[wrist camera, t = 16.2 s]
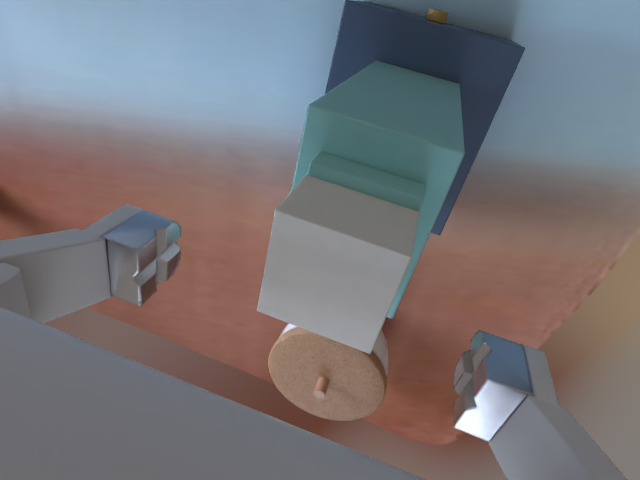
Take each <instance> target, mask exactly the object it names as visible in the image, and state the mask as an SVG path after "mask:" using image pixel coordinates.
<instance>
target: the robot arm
mask: <svg viewBox="0 0 640 480" xmlns="http://www.w3.org/2000/svg"><path fill="white" fill-rule="evenodd" d="M180 237H181V226H180V225H179V224H178V223H177V222H175V221H172V220H169V219H167V218H164V217H161V216H159V215H156V214H154V213H151V212H148V211H144V210H143V209H140V208H137V207H134V206H132V205H123V206H122V207H120V208H118V209H117V210H115V211H113V212H112V213H110V214H108V215H107V216H105V217H103V218H102V219H100V220H98V221H97V222H95V223H93V224H92V225H90V226H88V227H87V228H85V229H83V230H79V229H71V230H64V231H58V232H52V233H46V234H40V235H33V236H27V237H21V238H15V239H9V240H2V241H0V480H426V479H424V478H421V477H419V476H416V475H414V474H411V473H409V472H407V471H404V470H402V469H399V468H397V467H394V466H392V465H389V464H387V463H384V462H382V461H379V460H377V459H375V458H372V457H370V456H367V455H364V454H362V453H360V452H357V451H355V450H352V449H350V448H347V447H345V446H343V445H340V444H338V443H335V442H333V441H330V440H328V439H325V438H323V437H320V436H318V435H316V434H313V433H310V432H308V431H306V430H303V429H301V428H298V427H296V426H293V425H291V424H288V423H286V422H283V421H281V420H279V419H276V418H274V417H271V416H269V415H266V414H264V413H261V412H259V411H256V410H254V409H252V408H249V407H247V406H244V405H242V404H239V403H237V402H234V401H232V400H229V399H226V398H224V397H222V396H220V395H217V394H214V393H212V392H210V391H207V390H205V389H202V388H200V387H197V386H195V385H192V384H190V383H188V382H185V381H182V380H180V379H178V378H175V377H173V376H170V375H168V374H165V373H163V372H160V371H158V370H156V369H153V368H150V367H148V366H146V365H143V364H141V363H138V362H136V361H133V360H131V359H128V358H126V357H123V356H121V355H119V354H116V353H114V352H111V351H109V350H106V349H104V348H101V347H99V346H96V345H94V344H91V343H89V342H87V341H84V340H82V339H79V338H77V337H74V336H72V335H69V334H67V333H64V332H62V331H59V330H57V329H55V328H52V327H50V326H47V325H45V324H44V323H46V322H49V321H51V320H54V319H57V318H59V317H62V316H64V315H67V314H69V313H72V312H74V311H77V310H80V309H82V308H85V307H87V306H90V305H93V304H95V303H98V302H100V301H103V300H106V299H108V298H111V296H114V297H116V298H119V299H122V300H125V301H128V302H130V303H133V304H136V305H139V306H141V305H142V304H143V303H144V302H145V301H147V300H148V299H149V298H150V297H151V296H152V295H153V294H154V293H155V292H156V291H157V284H158V283H161V282H165V281H167V280H168V279H169V278H170V277H171V276H172V275H173V274H174V272H175V270H176V268H177V267H178V264H179V260H180V252H181V250H180V248H179V246H178V245H177V243H176V241H177V240H178V239H179V238H180ZM453 389H454V390H455V392H456V393H457V395H458V397H457V399H456V400H455V402H454V428H457V429H459V430H462V431H464V432H466V433H469V434H471V435H474V436H476V437H478V438H481V439H483V440H486V441H488V442H489V445H490V447H491V449H492V451H493V453H494V455H495V457H496V459H497V461H498V463H499V465H500V467H501V468H502V470H503V472H504V474H505V476H506V478H507V480H627V479H626V477H625V476H624V475H623V474H622V473H621V472H620V471H619V469H618V468H617V467H616V466H615V465H614V463H613V462H612V461H611V460H610V459H609V458H608V457H607V455H606V454H605V453H604V452H603V451H602V450H601V448H600V447H599V446H598V445H597V444H596V443H595V441H594V440H593V439H592V438H591V437H590V436H589V435H588V434H587V432H586V431H585V430H584V429H583V428H582V426H580V424H579V423H578V422H577V421H576V420H575V418H574V417H573V416H572V415H571V414H570V413H569V412H568V410H567V409H565V408H562V407H560V406H559V402H558V398H557V395H556V391H555V388H554V384H553V381H552V377H551V373H550V370H549V366H548V362H547V359H546V355H545V354H544V352H543V351H541V350H539V349H536V348H533V347H530V346H526V345H523V344H518V343H516V342H513V341H510V340H507V339H504V338H501V337H498V336H495V335H493V334H490V333H487V332H484V331H481V330H479V331H478V332H476V333H475V335H474V336H473V338H472V339H471V350H469V351H466V352H464V353H463V354H462V356H461V358H460V359H459V361H458V364H457V367H456V370H455V374H454V385H453Z"/></svg>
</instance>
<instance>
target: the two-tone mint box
mask: <svg viewBox="0 0 640 480" xmlns="http://www.w3.org/2000/svg"><path fill="white" fill-rule="evenodd" d="M464 155H465V150H464V136H463V123H462V109H461V96H460V85H459V84H457V83H454V82H450V81H447V80H443V79H440V78H436V77H433V76H429V75H426V74H422V73H419V72H415V71H412V70H408V69H405V68H401V67H398V66H394V65H391V64H387V63H384V62H380V61H375V62H373V63H372V64H370V65H369V66H367V67H366V68H364V69H363V70H361V71H360V72H358V73H357V74H355V75H354V76H352V77H350V78H349V79H347V80H346V81H344V82H343V83H341V84H340V85H338V86H337V87H335V88H334V89H332V90H331V91H329V92H328V93H326V94H325V95H323V96H322V97H320V98H319V99H317V100H316V101H314V102H312V103H311V104H309V106H308V109H307V114H306V119H305V124H304V129H303V134H302V139H301V144H300V149H299V155H298V160H297V165H296V170H295V175H294V180H293V185H292V190H291V192H290V194H289V195H288V196H287V197H286V198H285V199H284V200H283V201H282V203H281V204H280V205H279V206H278V207H277V208H276V209H275V213H274V218H273V224H272V230H271V235H270V241H269V246H268V252H267V258H266V263H265V269H264V275H263V280H262V286H261V291H260V297H259V303H258V308H257V311H258V312H261V313H264V314H266V315H269V316H271V317H274V318H277V319H279V320H282V321H285V322H287V323H290V324H292V325H295V326H298V327H300V328H303V329H306V330H308V331H311V332H313V333H316V334H319V335H321V336H324V337H326V338H329V339H332V340H334V341H337V342H340V343H342V344H345V345H347V346H350V347H353V348H355V349H358V350H361V351H363V352H366V353H368V354H370V353H371V352H372V350H373V347H374V345H375V343H376V340H377V338H378V336H379V333H380V331H381V329H382V326H383V324H384V321H385V319H386V317H387V318H390V319H392V318H393V317H394V314H395V312H396V310H397V308H398V305H399V303H400V301H401V298H402V296H403V294H404V292H405V289H406V287H407V285H408V282H409V280H410V278H411V276H412V273H413V271H414V269H415V267H416V264H417V262H418V260H419V257H420V255H421V253H422V251H423V248H424V246H425V244H426V241H427V239H428V237H429V235H430V232H431V230H432V228H433V226H434V223H435V221H436V219H437V216H438V214H439V212H440V210H441V207H442V205H443V203H444V200H445V198H446V196H447V194H448V191H449V189H450V187H451V184H452V182H453V180H454V178H455V175H456V173H457V171H458V169H459V166H460V164H461V162H462V159H463V157H464Z"/></svg>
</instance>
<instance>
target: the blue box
mask: <svg viewBox="0 0 640 480" xmlns="http://www.w3.org/2000/svg"><path fill="white" fill-rule="evenodd" d="M447 16H448V13H446V12H443V11H439V10H435V9H431V8H429V9H428V12H427V15H426V18H425V17H421V16H418V15H414V14H410V13H406V12H403V11H399V10H395V9H391V8H388V7H384V6H380V5H376V4H372V3H369V2H363V1H351V0H346V1H345V4H344V9H343V13H342V18H341V23H340V27H339V32H338V36H337V41H336V46H335V50H334V55H333V59H332V64H331V69H330V73H329V78H328V83H327V87H326V92H325V94H326V93H328V92H329V91H331V90H332V89H334V88H335V87H337V86H338V85H340V84H341V83H343V82H344V81H346V80H347V79H349V78H350V77H352V76H354V75H355V74H357V73H358V72H360V71H361V70H363V69H364V68H366V67H367V66H369V65H370V64H372V63H373V62H375V61H380V62H384V63H387V64H391V65H394V66H398V67H401V68H405V69H408V70H412V71H415V72H419V73H422V74H426V75H429V76H433V77H436V78H440V79H443V80H447V81H450V82H454V83H457V84H459V85H460V96H461V109H462V123H463V136H464V150H465V155H464V157H463V159H462V162H461V164H460V166H459V169H458V171H457V173H456V175H455V178H454V180H453V182H452V184H451V187H450V189H449V191H448V194H447V196H446V198H445V200H444V203H443V205H442V207H441V210H440V212H439V214H438V216H437V219H436V221H435V223H434V226H433V228H432V230H431V233H434V234H437V235H440V234H441V232H442V230H443V228H444V226H445V223H446V221H447V219H448V217H449V215H450V212H451V210H452V208H453V206H454V204H455V201H456V199H457V197H458V195H459V193H460V190H461V188H462V186H463V184H464V182H465V179H466V177H467V175H468V173H469V171H470V169H471V166H472V164H473V162H474V160H475V158H476V155H477V153H478V151H479V149H480V147H481V144H482V142H483V140H484V138H485V136H486V133H487V131H488V129H489V127H490V125H491V122H492V120H493V118H494V116H495V114H496V111H497V109H498V107H499V105H500V103H501V100H502V98H503V96H504V94H505V92H506V89H507V87H508V85H509V83H510V81H511V79H512V76H513V74H514V72H515V70H516V68H517V65H518V63H519V61H520V59H521V57H522V54H523V52H524V50H525V48H524V47H522V46H520V45H519V44H517V43H515V42H513V41H511V40H508V39H504V38H501V37H497V36H493V35H489V34H485V33H482V32H478V31H474V30H470V29H467V28H463V27H459V26H455V25H452V24H448V23H445V22H446V19H447Z"/></svg>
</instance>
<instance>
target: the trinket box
mask: <svg viewBox="0 0 640 480" xmlns="http://www.w3.org/2000/svg"><path fill="white" fill-rule="evenodd" d="M268 363H269V371H270V375H271V377H272V379H273V381H274V383H275V385H276V387H277V388H278V389H279V390H280V392H281V393H282V394H283V395H284V396H285V397H286V398H287V399H288V400H289V401H291V402H292V403H293V404H295V405H296V406H298V407H299V408H301V409H302V410H305V411H307V412H308V413H311V414H313V415H316V416H318V417H322V418H326V419H331V420H340V421H345V420H346V421H348V420H356V419H360V418H363V417H366V416H368V415H369V414H371V413H373V412H374V411H375V410H376V409H378V407H379V406H380V405H381V404H382V402H383V400H384V397H385V392H386V387H387V373H388V347H387V342H386V338H385V335H384V333H383V331H382V329H381V331H380V333H379V336H378V338H377V340H376V343H375V345H374V347H373V350H372V352H371V353H370V354H368V353H366V352H363V351H361V350H358V349H355V348H353V347H350V346H347V345H345V344H342V343H340V342H337V341H334V340H332V339H329V338H326V337H324V336H321V335H319V334H316V333H313V332H311V331H308V330H306V329H303V328H300V327H298V326H295V325H292V324H290V323H288V325H287V326H286V327H285V329H284V330H283V332H282V334H281V335H280V337H279V338H278V340H277V341H276V342H275V344H274V346H273V348H272V350H271V352H270V354H269V360H268Z"/></svg>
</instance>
